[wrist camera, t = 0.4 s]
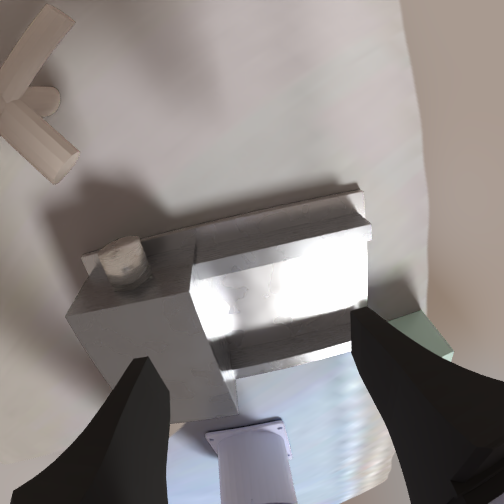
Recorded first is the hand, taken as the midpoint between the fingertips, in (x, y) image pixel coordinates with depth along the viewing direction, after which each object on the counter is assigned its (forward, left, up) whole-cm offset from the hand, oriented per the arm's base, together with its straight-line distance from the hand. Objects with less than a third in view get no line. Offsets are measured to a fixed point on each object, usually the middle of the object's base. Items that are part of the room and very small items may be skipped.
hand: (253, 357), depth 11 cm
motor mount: (-4, +1, -10) cm, 11 cm away
